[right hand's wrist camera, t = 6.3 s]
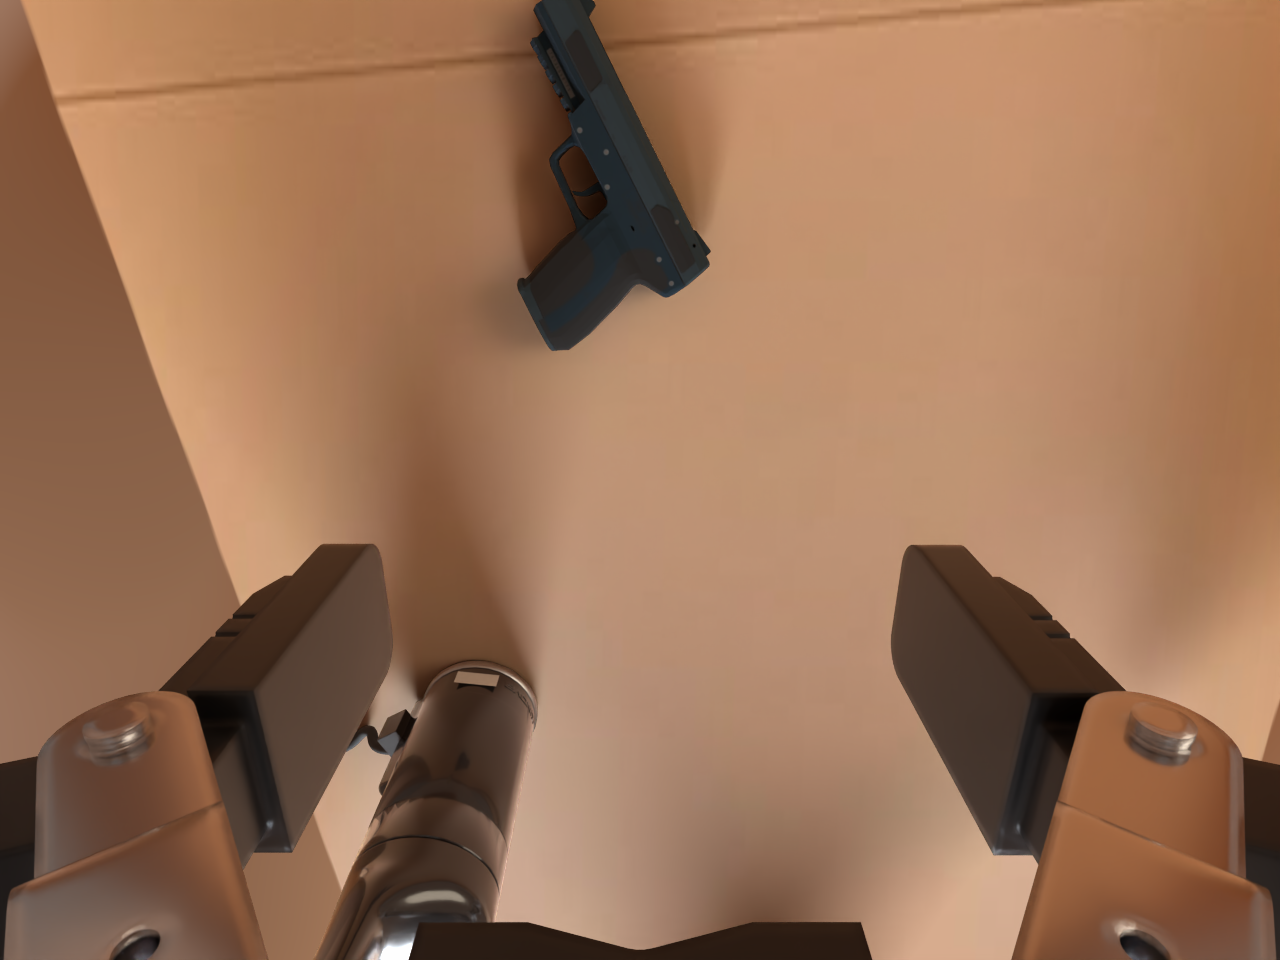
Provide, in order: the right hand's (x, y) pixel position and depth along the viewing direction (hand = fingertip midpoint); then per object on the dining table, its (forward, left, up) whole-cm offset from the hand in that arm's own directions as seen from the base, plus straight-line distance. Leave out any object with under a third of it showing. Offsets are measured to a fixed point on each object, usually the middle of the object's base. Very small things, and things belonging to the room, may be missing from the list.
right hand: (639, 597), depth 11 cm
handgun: (-1, +8, -40) cm, 40 cm away
